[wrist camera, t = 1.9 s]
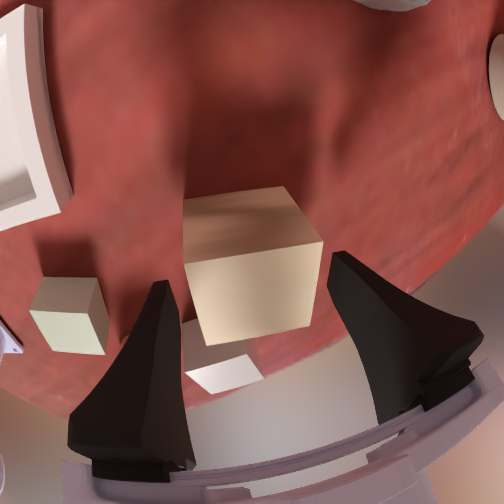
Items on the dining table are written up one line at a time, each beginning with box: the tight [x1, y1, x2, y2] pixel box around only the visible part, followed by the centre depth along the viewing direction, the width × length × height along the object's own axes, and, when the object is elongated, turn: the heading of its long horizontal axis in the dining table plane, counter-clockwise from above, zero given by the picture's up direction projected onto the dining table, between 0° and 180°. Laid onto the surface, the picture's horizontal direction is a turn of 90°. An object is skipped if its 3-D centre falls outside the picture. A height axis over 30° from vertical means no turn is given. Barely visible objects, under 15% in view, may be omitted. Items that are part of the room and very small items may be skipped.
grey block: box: [182, 318, 264, 394], centre depth 18 cm, size 4×4×4 cm
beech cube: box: [183, 186, 323, 346], centre depth 13 cm, size 5×5×5 cm
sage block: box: [29, 277, 110, 355], centre depth 14 cm, size 4×4×3 cm
